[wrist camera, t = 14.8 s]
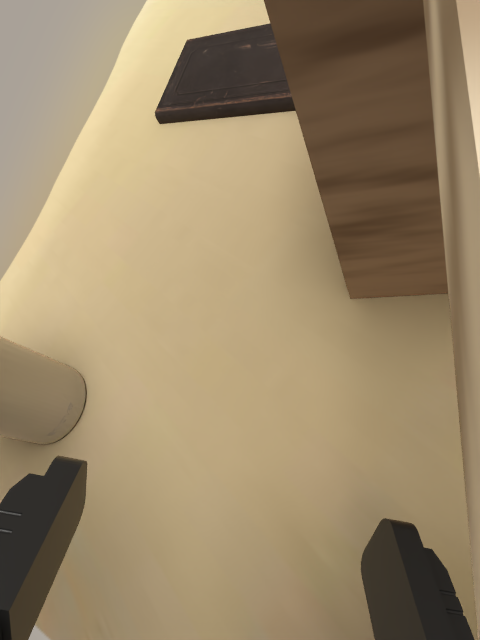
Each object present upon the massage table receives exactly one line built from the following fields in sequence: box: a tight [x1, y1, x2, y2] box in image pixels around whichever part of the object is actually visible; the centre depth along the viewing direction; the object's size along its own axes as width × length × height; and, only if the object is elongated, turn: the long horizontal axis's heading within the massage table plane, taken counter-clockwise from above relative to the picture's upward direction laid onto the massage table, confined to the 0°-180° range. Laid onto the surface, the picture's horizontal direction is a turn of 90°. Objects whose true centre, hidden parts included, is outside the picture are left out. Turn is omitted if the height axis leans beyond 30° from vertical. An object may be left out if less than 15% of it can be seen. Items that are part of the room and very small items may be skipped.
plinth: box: [264, 0, 448, 299], centre depth 29 cm, size 24×16×32 cm, turn 173°
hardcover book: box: [155, 24, 296, 124], centre depth 61 cm, size 16×23×2 cm
